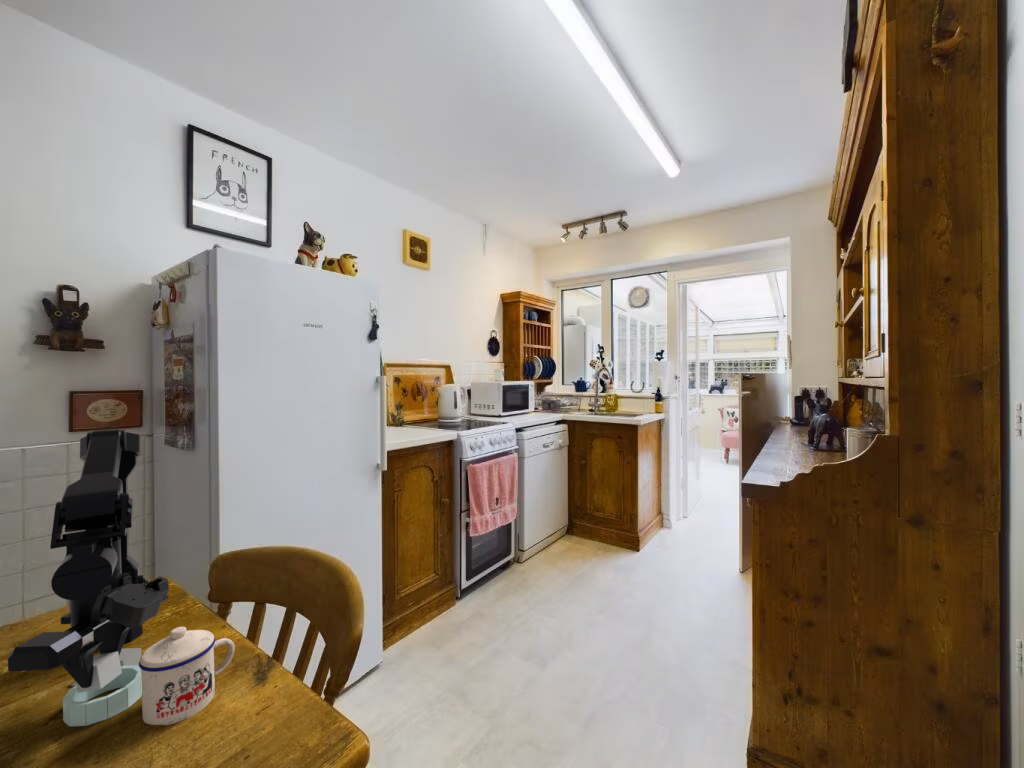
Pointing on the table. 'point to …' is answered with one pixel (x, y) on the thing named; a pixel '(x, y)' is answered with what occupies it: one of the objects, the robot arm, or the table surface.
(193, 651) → the teacup with lid
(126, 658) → the grey cube
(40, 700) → the table surface
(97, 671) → the light grey cube
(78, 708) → the bowl
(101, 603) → the robot arm
